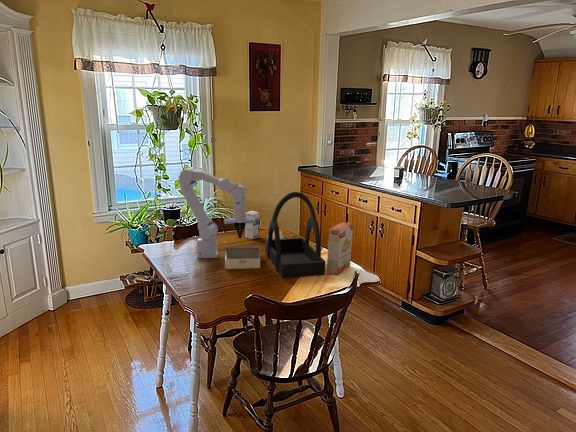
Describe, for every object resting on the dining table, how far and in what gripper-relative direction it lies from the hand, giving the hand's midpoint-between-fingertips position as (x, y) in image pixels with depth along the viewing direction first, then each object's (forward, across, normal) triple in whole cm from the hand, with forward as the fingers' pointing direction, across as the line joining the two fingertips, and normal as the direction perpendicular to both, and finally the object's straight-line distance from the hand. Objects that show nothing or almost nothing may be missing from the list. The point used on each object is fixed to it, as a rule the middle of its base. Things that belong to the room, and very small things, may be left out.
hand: (239, 237), depth 208 cm
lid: (+3, -1, +6) cm, 7 cm away
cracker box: (+11, -45, +18) cm, 49 cm away
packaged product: (+11, -20, -25) cm, 34 cm away
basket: (+11, -25, +7) cm, 28 cm away
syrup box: (+11, -7, -33) cm, 35 cm away
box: (+10, -1, +6) cm, 12 cm away
